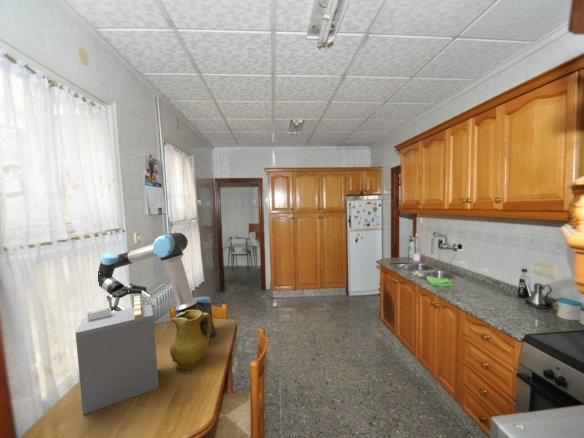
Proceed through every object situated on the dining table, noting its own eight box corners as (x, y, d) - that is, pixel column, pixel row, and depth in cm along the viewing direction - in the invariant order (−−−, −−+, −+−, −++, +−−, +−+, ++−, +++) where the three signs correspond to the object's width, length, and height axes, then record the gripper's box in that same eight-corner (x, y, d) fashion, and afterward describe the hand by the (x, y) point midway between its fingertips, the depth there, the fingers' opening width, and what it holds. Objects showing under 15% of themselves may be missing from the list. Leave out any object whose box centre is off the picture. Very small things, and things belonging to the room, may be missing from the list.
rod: (134, 301, 132) (134, 296, 132) (140, 300, 134) (139, 295, 133) (134, 321, 107) (134, 315, 106) (141, 320, 108) (141, 314, 108)
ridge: (88, 319, 112) (88, 312, 112) (111, 314, 116) (110, 307, 116) (87, 321, 110) (87, 314, 110) (111, 316, 114) (110, 309, 114)
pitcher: (179, 353, 140) (177, 307, 139) (214, 352, 141) (213, 307, 139) (163, 374, 123) (161, 322, 121) (203, 374, 124) (202, 322, 122)
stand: (89, 390, 114) (82, 318, 113) (156, 369, 128) (151, 304, 126) (83, 414, 101) (75, 332, 99) (158, 387, 114) (153, 315, 113)
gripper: (135, 280, 161) (159, 297, 153) (90, 304, 140) (115, 325, 133) (134, 271, 157) (158, 287, 150) (88, 294, 137) (113, 314, 129)
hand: (138, 305), depth 141 cm, fingers open, 13 cm apart
